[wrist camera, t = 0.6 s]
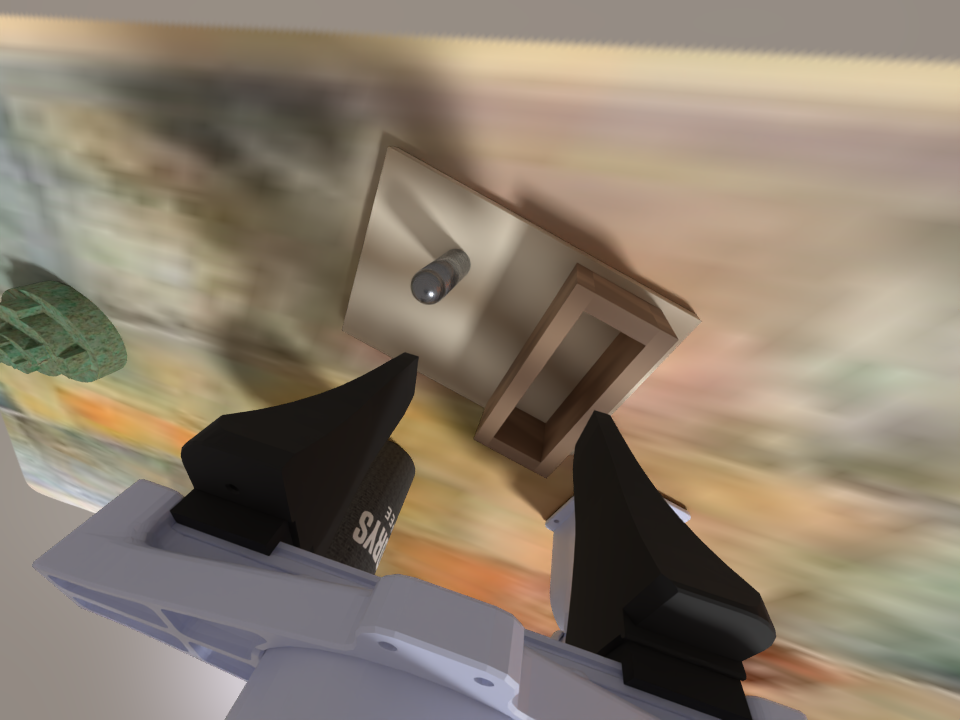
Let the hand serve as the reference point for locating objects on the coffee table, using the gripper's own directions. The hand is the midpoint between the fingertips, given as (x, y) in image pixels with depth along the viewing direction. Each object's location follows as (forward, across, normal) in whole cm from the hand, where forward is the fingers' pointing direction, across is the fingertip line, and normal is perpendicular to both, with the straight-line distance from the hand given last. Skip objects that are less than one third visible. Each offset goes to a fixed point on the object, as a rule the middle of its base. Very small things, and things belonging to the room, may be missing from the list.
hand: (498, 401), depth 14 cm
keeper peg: (+10, +5, -2) cm, 12 cm away
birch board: (+10, +1, +2) cm, 11 cm away
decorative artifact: (+11, +43, +16) cm, 47 cm away
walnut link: (+9, -3, +3) cm, 10 cm away
